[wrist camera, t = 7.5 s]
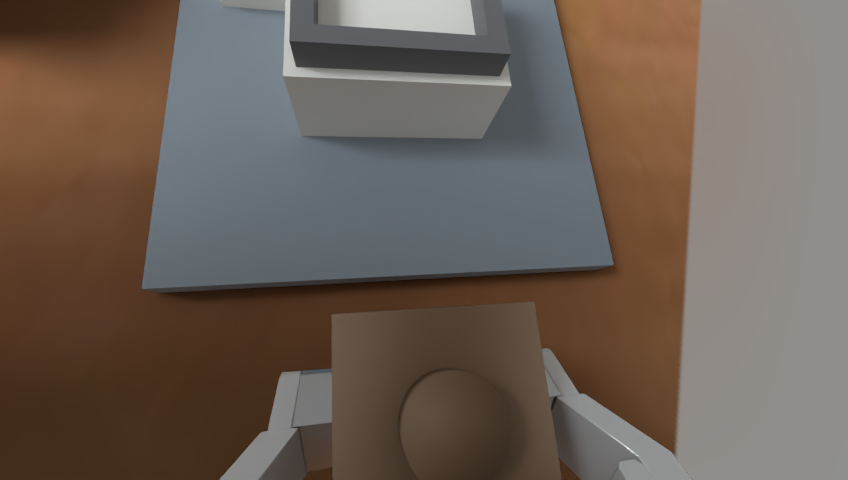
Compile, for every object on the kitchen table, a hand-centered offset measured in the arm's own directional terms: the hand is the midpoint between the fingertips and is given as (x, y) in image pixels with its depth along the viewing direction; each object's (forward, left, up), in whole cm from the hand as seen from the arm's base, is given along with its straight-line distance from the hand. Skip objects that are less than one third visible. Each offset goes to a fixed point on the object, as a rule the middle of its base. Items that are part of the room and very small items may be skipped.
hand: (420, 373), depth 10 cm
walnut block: (0, -1, -4) cm, 4 cm away
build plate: (0, +13, -6) cm, 15 cm away
